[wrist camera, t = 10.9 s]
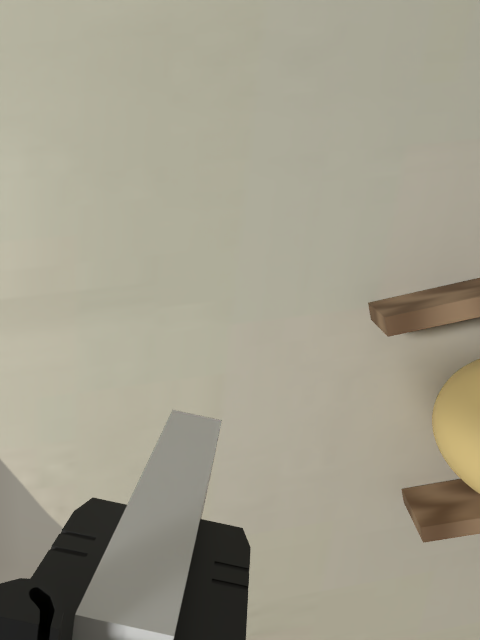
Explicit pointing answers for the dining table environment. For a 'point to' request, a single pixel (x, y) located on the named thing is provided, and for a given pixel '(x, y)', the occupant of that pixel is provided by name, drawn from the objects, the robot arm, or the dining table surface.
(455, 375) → the sculpture
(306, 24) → the dining table surface
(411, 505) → the bay
